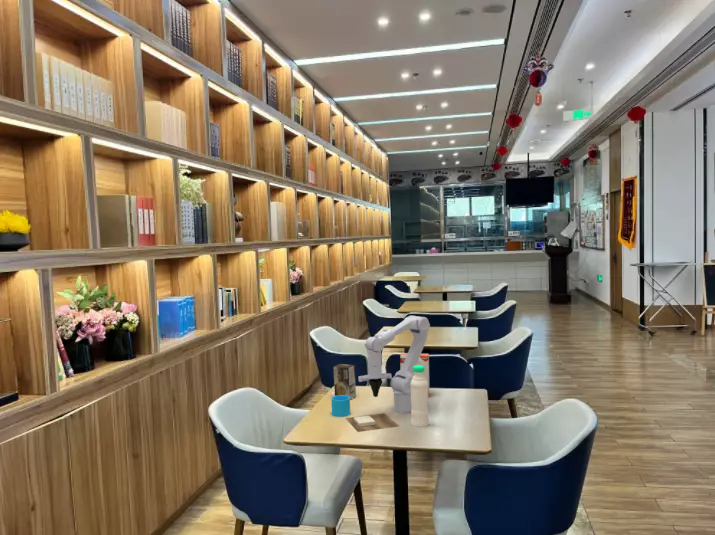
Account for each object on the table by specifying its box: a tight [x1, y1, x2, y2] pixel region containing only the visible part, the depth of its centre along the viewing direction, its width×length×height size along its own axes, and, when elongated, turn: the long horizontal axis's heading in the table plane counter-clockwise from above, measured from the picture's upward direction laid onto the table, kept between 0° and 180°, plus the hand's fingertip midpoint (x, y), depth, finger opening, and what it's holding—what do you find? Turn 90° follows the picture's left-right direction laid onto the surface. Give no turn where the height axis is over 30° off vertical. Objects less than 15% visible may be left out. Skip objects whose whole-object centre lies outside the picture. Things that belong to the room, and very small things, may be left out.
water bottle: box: [410, 365, 430, 427], centre depth 216 cm, size 7×7×25 cm
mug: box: [330, 395, 351, 418], centre depth 234 cm, size 12×8×8 cm
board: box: [345, 412, 400, 433], centre depth 220 cm, size 18×18×1 cm
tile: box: [353, 415, 375, 427], centre depth 219 cm, size 2×8×7 cm
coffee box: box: [333, 363, 357, 401], centre depth 260 cm, size 9×6×16 cm
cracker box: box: [399, 352, 430, 398], centre depth 260 cm, size 14×6×21 cm, turn 81°
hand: (375, 396), depth 226 cm, fingers closed
